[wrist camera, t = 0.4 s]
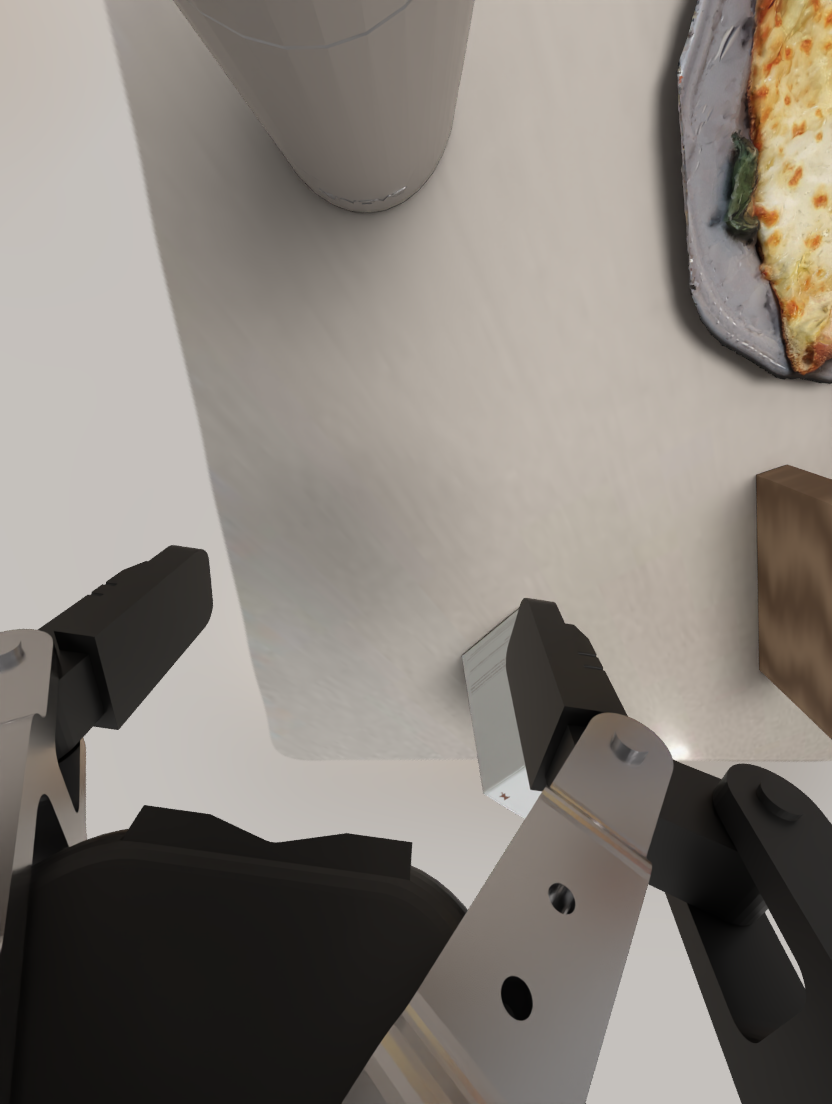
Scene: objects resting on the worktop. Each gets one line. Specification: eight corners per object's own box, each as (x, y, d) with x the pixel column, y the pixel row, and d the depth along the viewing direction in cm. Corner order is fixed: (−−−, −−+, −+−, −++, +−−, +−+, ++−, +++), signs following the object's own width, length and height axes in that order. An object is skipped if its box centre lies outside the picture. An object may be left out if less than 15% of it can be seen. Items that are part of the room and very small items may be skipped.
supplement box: (515, 696, 39) (557, 844, 27) (459, 654, 36) (478, 796, 25) (580, 650, 36) (655, 791, 25) (524, 602, 34) (578, 733, 23)
